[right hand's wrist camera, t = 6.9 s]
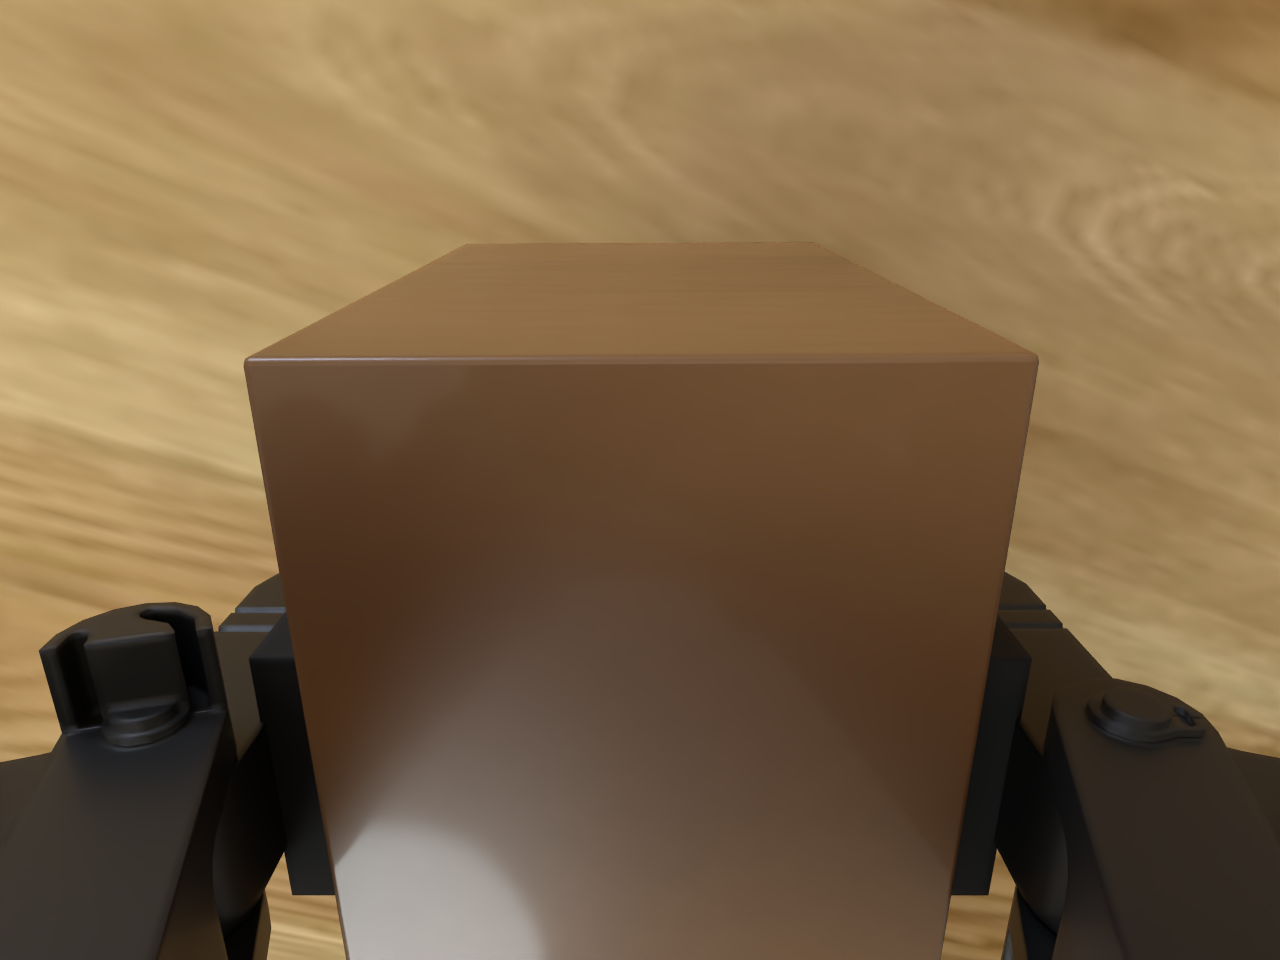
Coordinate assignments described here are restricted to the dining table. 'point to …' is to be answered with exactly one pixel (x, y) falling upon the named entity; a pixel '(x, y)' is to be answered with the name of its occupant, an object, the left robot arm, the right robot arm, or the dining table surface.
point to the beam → (642, 598)
